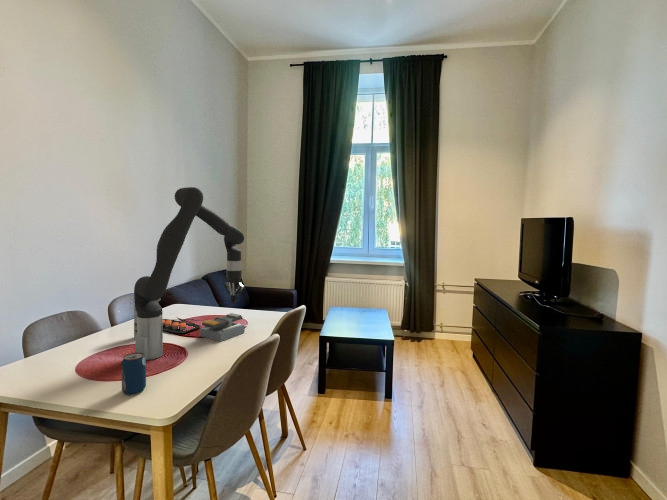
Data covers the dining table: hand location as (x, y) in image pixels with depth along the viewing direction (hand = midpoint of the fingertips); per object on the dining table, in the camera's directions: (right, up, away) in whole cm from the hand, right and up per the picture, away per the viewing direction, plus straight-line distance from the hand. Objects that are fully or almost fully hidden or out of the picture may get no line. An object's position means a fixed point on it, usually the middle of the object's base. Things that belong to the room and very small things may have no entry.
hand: (234, 302), depth 178 cm
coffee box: (-39, -15, -12) cm, 44 cm away
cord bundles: (-4, -11, -6) cm, 13 cm away
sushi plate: (-31, -14, +10) cm, 35 cm away
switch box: (-4, -15, -6) cm, 17 cm away
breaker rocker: (-4, -9, -6) cm, 11 cm away
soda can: (-14, -20, -65) cm, 69 cm away
